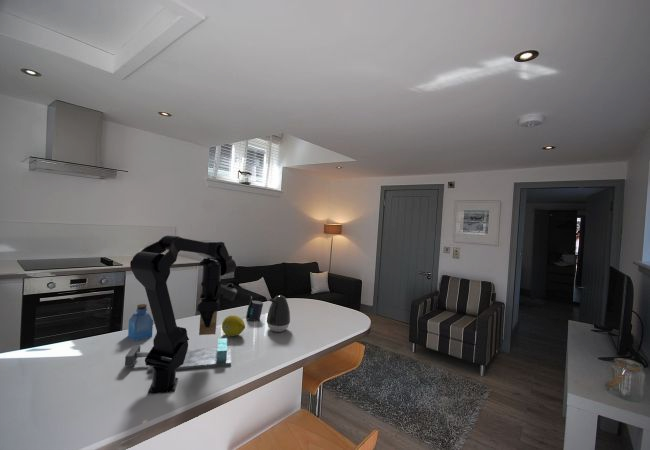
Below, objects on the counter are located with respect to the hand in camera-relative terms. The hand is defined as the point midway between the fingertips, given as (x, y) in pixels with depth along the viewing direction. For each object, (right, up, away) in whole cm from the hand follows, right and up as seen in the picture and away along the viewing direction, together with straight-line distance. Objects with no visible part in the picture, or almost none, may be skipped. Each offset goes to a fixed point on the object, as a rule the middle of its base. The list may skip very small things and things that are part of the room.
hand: (208, 324), depth 100 cm
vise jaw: (-17, -9, -5) cm, 20 cm away
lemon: (+2, -12, +21) cm, 24 cm away
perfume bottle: (-32, -10, +14) cm, 36 cm away
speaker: (+5, -12, +42) cm, 44 cm away
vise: (-5, -12, -1) cm, 12 cm away
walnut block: (0, -3, 0) cm, 2 cm away
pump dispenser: (+18, -13, +31) cm, 38 cm away
